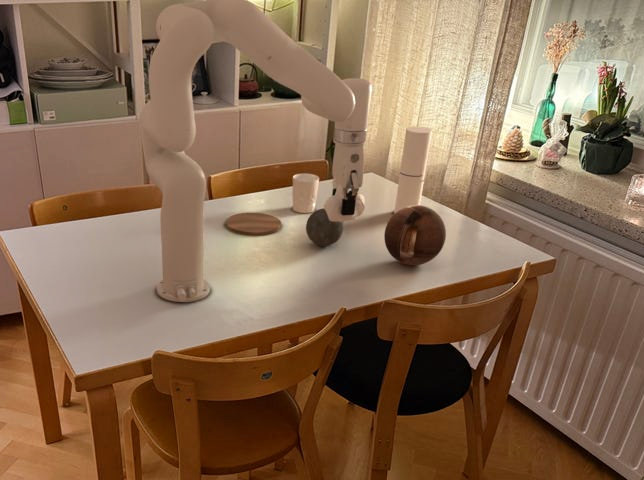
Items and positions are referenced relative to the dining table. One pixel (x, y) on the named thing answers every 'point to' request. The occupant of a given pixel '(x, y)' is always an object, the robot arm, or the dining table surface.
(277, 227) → the round wooden disc
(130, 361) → the dining table surface
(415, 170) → the cylindrical container
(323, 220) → the decorative ball
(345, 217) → the bust
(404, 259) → the wooden sphere
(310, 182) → the white cup
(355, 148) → the robot arm
